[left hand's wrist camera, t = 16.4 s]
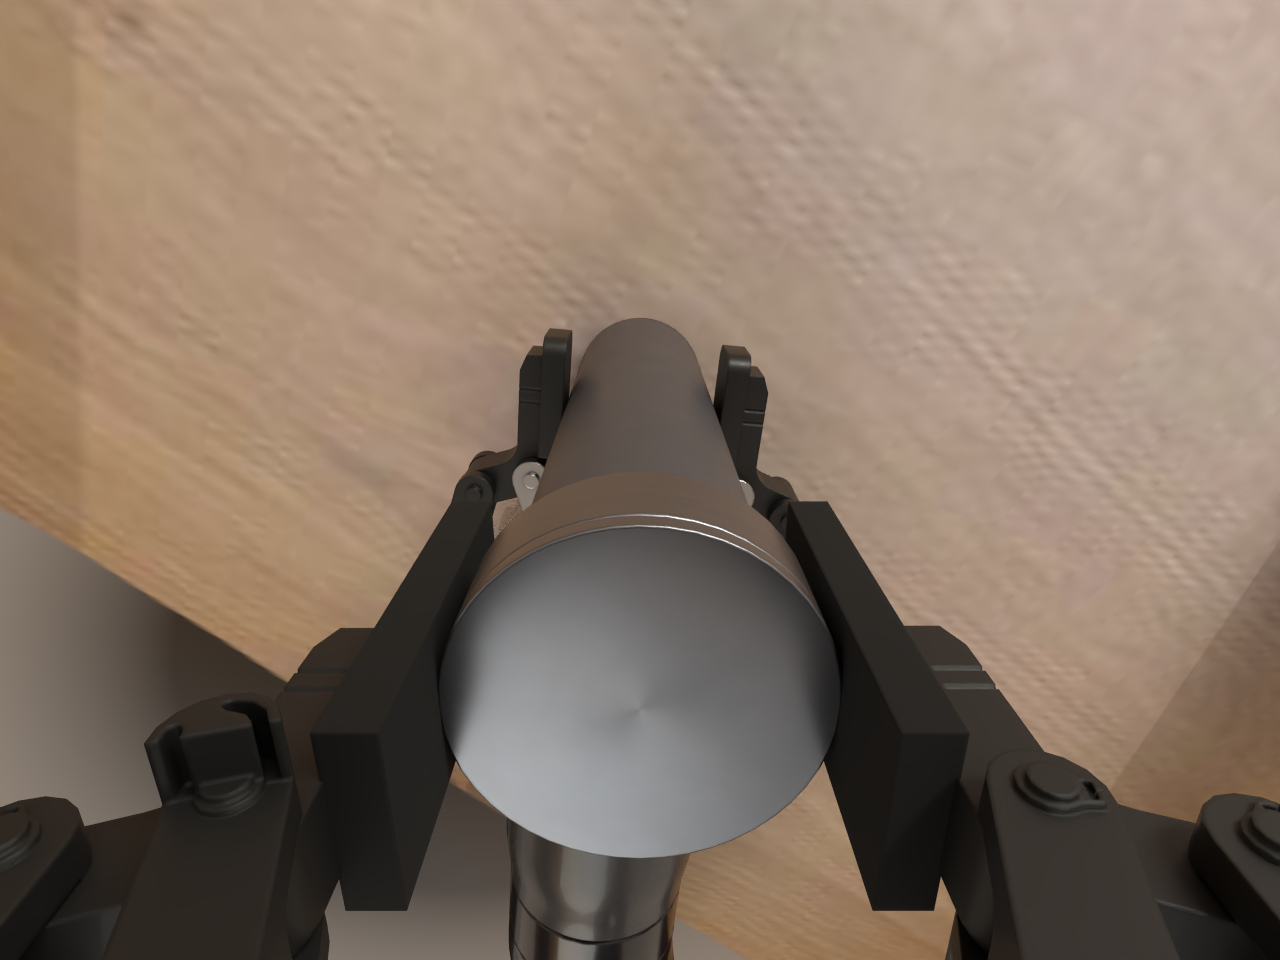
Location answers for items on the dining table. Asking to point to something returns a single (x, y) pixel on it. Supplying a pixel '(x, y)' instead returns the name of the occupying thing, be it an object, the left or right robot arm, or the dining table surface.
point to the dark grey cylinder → (639, 413)
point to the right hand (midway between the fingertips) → (646, 344)
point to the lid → (639, 669)
